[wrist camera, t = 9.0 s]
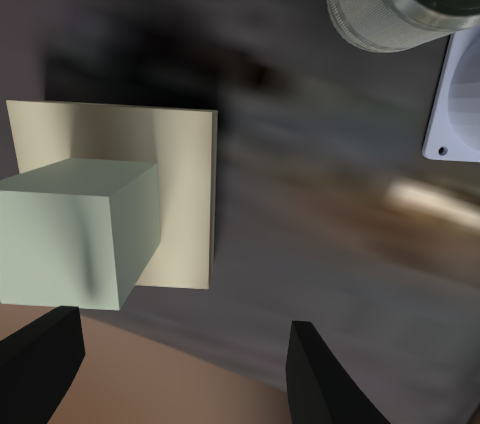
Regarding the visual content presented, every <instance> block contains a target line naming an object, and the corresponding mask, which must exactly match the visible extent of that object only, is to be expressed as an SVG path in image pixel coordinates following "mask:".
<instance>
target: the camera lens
mask: <svg viewBox="0 0 480 424" xmlns="http://www.w3.org/2000/svg"><path fill="white" fill-rule="evenodd" d="M326 2H327V5H328V8H327V9H328V12H329V14H330V20H331V21H332V23H333V26H334V27H335V28H336V30H337V32H338V33H339V34H340V35H341V37H342V38H343V39H345V40H346V41H347V42H348V43H350V44H352V45H353V46H355V47H358V48H360V49H363V50H366V51H370V52H398V51H403V50H406V49H410V48H413V47H415V46H418V45H420V44H422V43H426V42H429V41H431V40H434V39H437V38H440V37H443V36H446V35H449V34H452V33H455V32H457V31H461V30H465V29H469V28H472V27H475V26H478V25H480V0H326Z"/></svg>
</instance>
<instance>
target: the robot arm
mask: <svg viewBox="0 0 480 424" xmlns="http://www.w3.org/2000/svg"><path fill="white" fill-rule="evenodd" d="M441 147H443V148H444V151H443V153H441V154H439V153H438V151H439V149H440V148H441ZM422 153H423V156H424V157H426V158H429V159H436V160H453V161H471V162H480V25H478V26H475V27H472V28H469V29H465V30H461V31H457V32H455V33H452V34H451V36H450V40H449V45H448V49H447V53H446V57H445V61H444V65H443V69H442V73H441V77H440V81H439V85H438V89H437V93H436V97H435V101H434V105H433V109H432V113H431V117H430V121H429V125H428V129H427V133H426V137H425V141H424V145H423V149H422ZM84 356H85V348H84V341H83V334H82V327H81V319H80V312H79V307H78V306H63V305H61V306H59V307H57V308H55V309H53V310H51V311H50V312H48V313H46V314H45V315H43V316H41V317H40V318H38V319H36V320H35V321H33V322H31V323H30V324H28V325H26V326H25V327H23V328H21V329H20V330H18V331H17V332H15V333H13V334H11V335H10V336H8V337H6V338H5V339H3V340H1V341H0V424H47V423H48V421H49V420H50V418H51V416H52V415H53V413H54V412H55V410H56V408H57V407H58V405H59V404H60V402H61V400H62V399H63V397H64V396H65V394H66V392H67V391H68V389H69V387H70V386H71V384H72V382H73V380H74V378H75V376H76V373H77V372H78V369H79V367H80V365H81V363H82V361H83V359H84ZM286 381H287V393H288V402H289V407H290V413H291V418H292V424H391V423H390V422H389V421H388V420H387V419H386V418H385V417H384V416H383V415H382V414H381V413H380V412H379V411H378V409H377V408H376V407H375V406H374V405H373V404H372V403H371V402H370V400H369V399H368V398H367V397H366V396H365V394H364V393H363V392H362V391H361V390H360V388H359V387H358V386H357V385H356V384H355V382H354V381H353V380H352V379H351V377H350V376H349V375H348V373H347V372H346V371H345V369H344V368H343V367H342V366H341V364H340V363H339V362H338V360H337V359H336V358H335V356H334V355H333V353H332V352H331V351H330V349H329V348H328V346H327V345H326V343H325V342H324V341H323V339H322V338H321V336H320V335H319V333H318V332H317V330H316V329H315V327H314V326H313V324H312V323H311V322H306V321H292V325H291V332H290V339H289V347H288V354H287V361H286Z"/></svg>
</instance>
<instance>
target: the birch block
mask: <svg viewBox="0 0 480 424" xmlns="http://www.w3.org/2000/svg"><path fill="white" fill-rule="evenodd" d="M6 102H7V108H8V113H9V118H10V124H11V129H12V134H13V139H14V145H15V150H16V155H17V161H18V166H19V171H20V174H21V173H24V172H28V171H31V170H34V169H37V168H40V167H43V166H46V165H49V164H52V163H56V162H59V161H62V160H65V159H68V158H83V159H100V160H118V161H136V162H153V163H158V181H159V208H160V236H161V243H160V244H159V246H158V248H157V249H156V251H155V253H154V254H153V256H152V258H151V259H150V261H149V263H148V264H147V266H146V267H145V269H144V271H143V272H142V274H141V276H140V277H139V279H138V281H137V282H136V284H135V285H145V286H162V287H179V288H196V289H208V288H209V283H210V278H211V274H212V269H213V262H214V226H215V191H216V155H217V119H218V110H203V109H185V108H168V107H150V106H133V105H115V104H98V103H80V102H63V101H45V100H6Z"/></svg>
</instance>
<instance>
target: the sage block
mask: <svg viewBox="0 0 480 424" xmlns="http://www.w3.org/2000/svg"><path fill="white" fill-rule="evenodd" d="M160 243H161V236H160V208H159V181H158V163H153V162H136V161H118V160H100V159H83V158H68V159H65V160H62V161H59V162H56V163H52V164H49V165H46V166H43V167H40V168H37V169H34V170H31V171H28V172H24V173H21V174H18V175H15V176H12V177H9V178H6V179H3V180H0V301H1V303H4V304H20V305H37V306H54V307H59V306H61V305H63V306H78V307H79V308H89V309H106V310H120V308H121V307H122V305H123V303H124V302H125V300H126V299H127V297H128V295H129V294H130V292H131V290H132V289H133V287H134V285H135V284H136V282H137V281H138V279H139V277H140V276H141V274H142V272H143V271H144V269H145V267H146V266H147V264H148V263H149V261H150V259H151V258H152V256H153V254H154V253H155V251H156V249H157V248H158V246H159V244H160Z"/></svg>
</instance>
